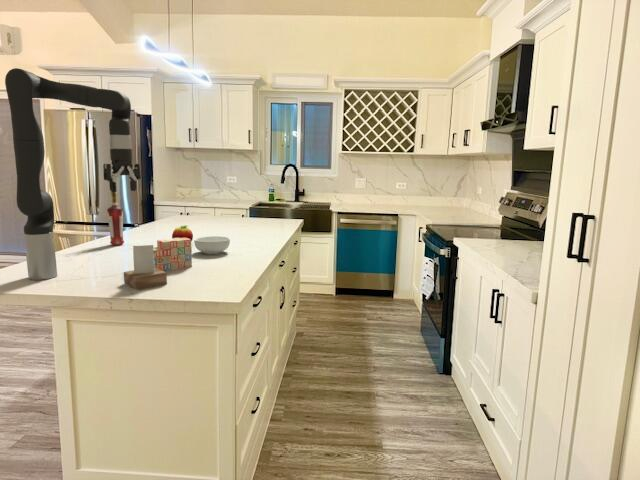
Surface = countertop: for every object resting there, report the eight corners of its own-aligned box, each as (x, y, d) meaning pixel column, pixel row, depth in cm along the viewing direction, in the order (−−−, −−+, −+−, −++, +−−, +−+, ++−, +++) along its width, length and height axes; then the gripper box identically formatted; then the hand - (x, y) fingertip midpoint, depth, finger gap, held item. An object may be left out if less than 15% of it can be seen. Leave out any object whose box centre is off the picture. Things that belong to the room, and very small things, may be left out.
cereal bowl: (234, 250, 222) (233, 236, 221) (223, 257, 206) (223, 242, 205) (202, 248, 224) (201, 235, 223) (189, 255, 208) (188, 241, 206)
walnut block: (124, 285, 160) (123, 272, 159) (153, 279, 168) (152, 267, 167) (137, 291, 153) (136, 277, 152) (167, 285, 161) (166, 272, 160)
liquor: (109, 243, 231) (105, 191, 226) (124, 242, 235) (120, 191, 230) (110, 246, 225) (106, 192, 220) (125, 245, 229) (121, 192, 223)
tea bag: (154, 272, 159) (152, 246, 157) (134, 274, 157) (132, 246, 155) (154, 270, 162) (153, 244, 161) (135, 271, 160) (133, 245, 159)
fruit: (168, 245, 230) (167, 227, 228) (180, 242, 240) (179, 224, 238) (185, 247, 227) (185, 228, 225) (197, 243, 237) (196, 225, 235)
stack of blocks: (141, 274, 173) (139, 244, 171) (136, 271, 178) (134, 242, 176) (192, 267, 187) (191, 238, 185) (186, 264, 192) (185, 236, 189)
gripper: (130, 148, 170) (132, 190, 173) (96, 147, 157) (100, 192, 160) (143, 148, 166) (145, 191, 169) (110, 147, 154) (113, 193, 157)
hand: (123, 191), depth 165 cm, fingers open, 8 cm apart
